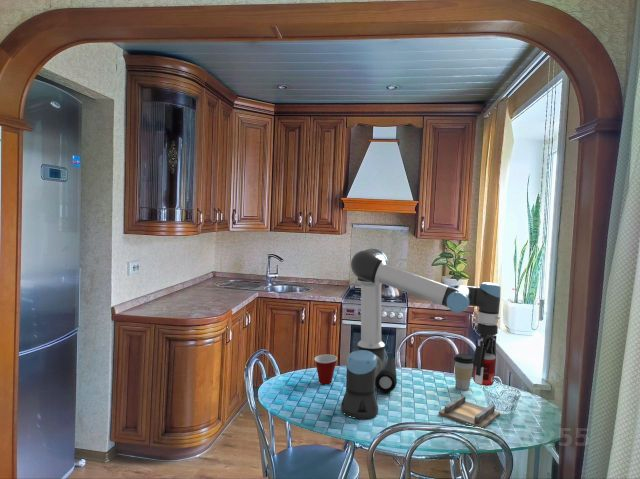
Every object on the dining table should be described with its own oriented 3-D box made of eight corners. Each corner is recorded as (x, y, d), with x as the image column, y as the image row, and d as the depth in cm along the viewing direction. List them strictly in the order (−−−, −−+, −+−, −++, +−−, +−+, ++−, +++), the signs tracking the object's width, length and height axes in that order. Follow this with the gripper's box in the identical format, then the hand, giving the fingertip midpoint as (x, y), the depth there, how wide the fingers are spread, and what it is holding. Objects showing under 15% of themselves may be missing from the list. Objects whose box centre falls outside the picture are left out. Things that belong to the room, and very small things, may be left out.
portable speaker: (374, 373, 234) (375, 354, 234) (395, 375, 233) (395, 355, 232) (373, 393, 209) (374, 371, 208) (396, 395, 208) (397, 373, 207)
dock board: (481, 429, 178) (482, 420, 178) (438, 414, 190) (438, 405, 190) (500, 415, 191) (500, 406, 191) (458, 401, 203) (458, 393, 203)
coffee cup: (450, 388, 218) (451, 357, 217) (454, 382, 226) (456, 351, 225) (471, 393, 214) (473, 360, 213) (474, 386, 222) (476, 355, 221)
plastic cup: (310, 379, 223) (311, 354, 222) (331, 377, 226) (332, 353, 226) (317, 388, 213) (318, 362, 212) (339, 386, 216) (340, 360, 215)
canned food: (489, 378, 188) (491, 351, 187) (496, 386, 180) (499, 358, 179) (470, 378, 188) (472, 351, 187) (476, 385, 180) (479, 357, 179)
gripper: (485, 329, 172) (481, 390, 173) (507, 321, 187) (503, 376, 189) (466, 325, 177) (461, 384, 179) (489, 317, 192) (485, 371, 194)
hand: (483, 380), depth 184 cm, fingers closed on canned food, 8 cm apart
